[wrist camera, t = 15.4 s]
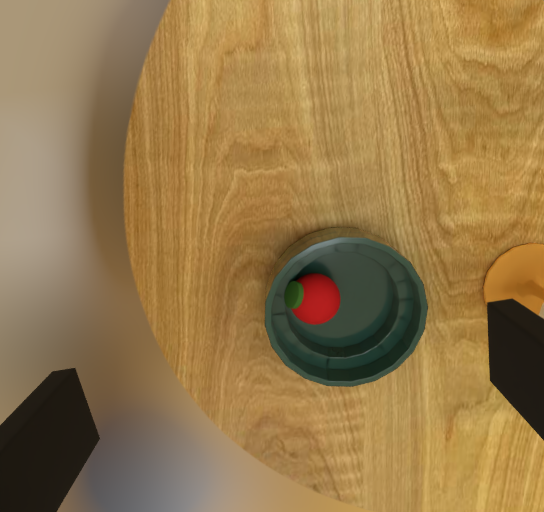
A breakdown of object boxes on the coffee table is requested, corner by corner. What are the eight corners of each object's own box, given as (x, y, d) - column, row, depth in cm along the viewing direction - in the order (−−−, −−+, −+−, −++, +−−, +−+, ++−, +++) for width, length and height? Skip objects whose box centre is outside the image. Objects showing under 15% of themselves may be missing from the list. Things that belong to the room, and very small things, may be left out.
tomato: (314, 311, 43) (272, 304, 41) (332, 270, 42) (290, 260, 40) (337, 337, 39) (292, 331, 37) (358, 291, 38) (312, 282, 35)
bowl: (246, 335, 44) (243, 359, 39) (296, 205, 40) (299, 213, 35) (374, 377, 45) (386, 405, 41) (434, 255, 41) (455, 270, 37)
